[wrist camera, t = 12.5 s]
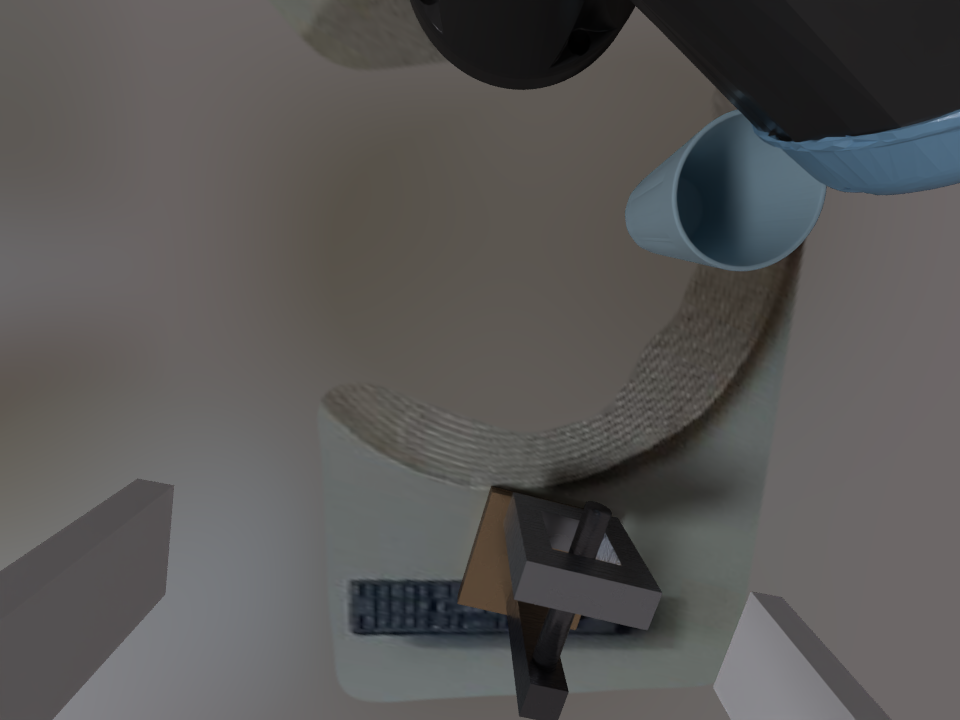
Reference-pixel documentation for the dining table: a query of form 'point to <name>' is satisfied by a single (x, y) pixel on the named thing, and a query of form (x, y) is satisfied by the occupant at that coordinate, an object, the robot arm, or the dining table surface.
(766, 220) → the cup
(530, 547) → the link
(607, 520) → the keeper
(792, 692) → the robot arm
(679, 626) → the dining table surface
